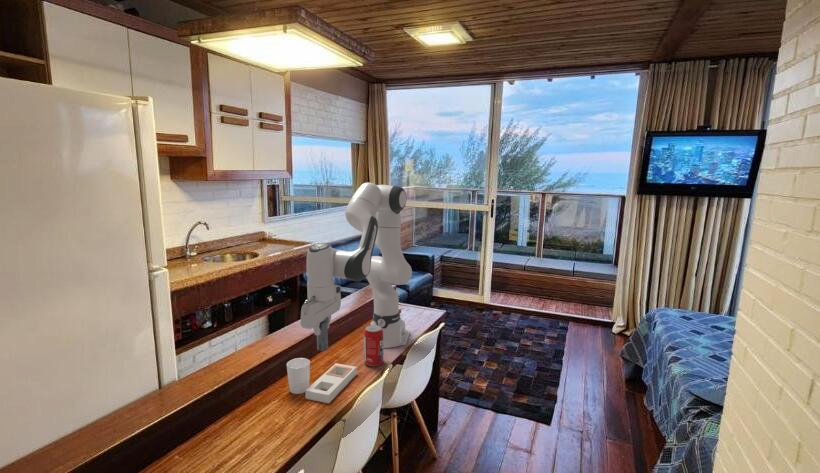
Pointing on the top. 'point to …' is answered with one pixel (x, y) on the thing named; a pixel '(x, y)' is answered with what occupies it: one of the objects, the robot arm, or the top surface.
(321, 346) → the pin
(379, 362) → the soda can
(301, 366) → the white cup
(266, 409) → the top surface
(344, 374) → the dock board
